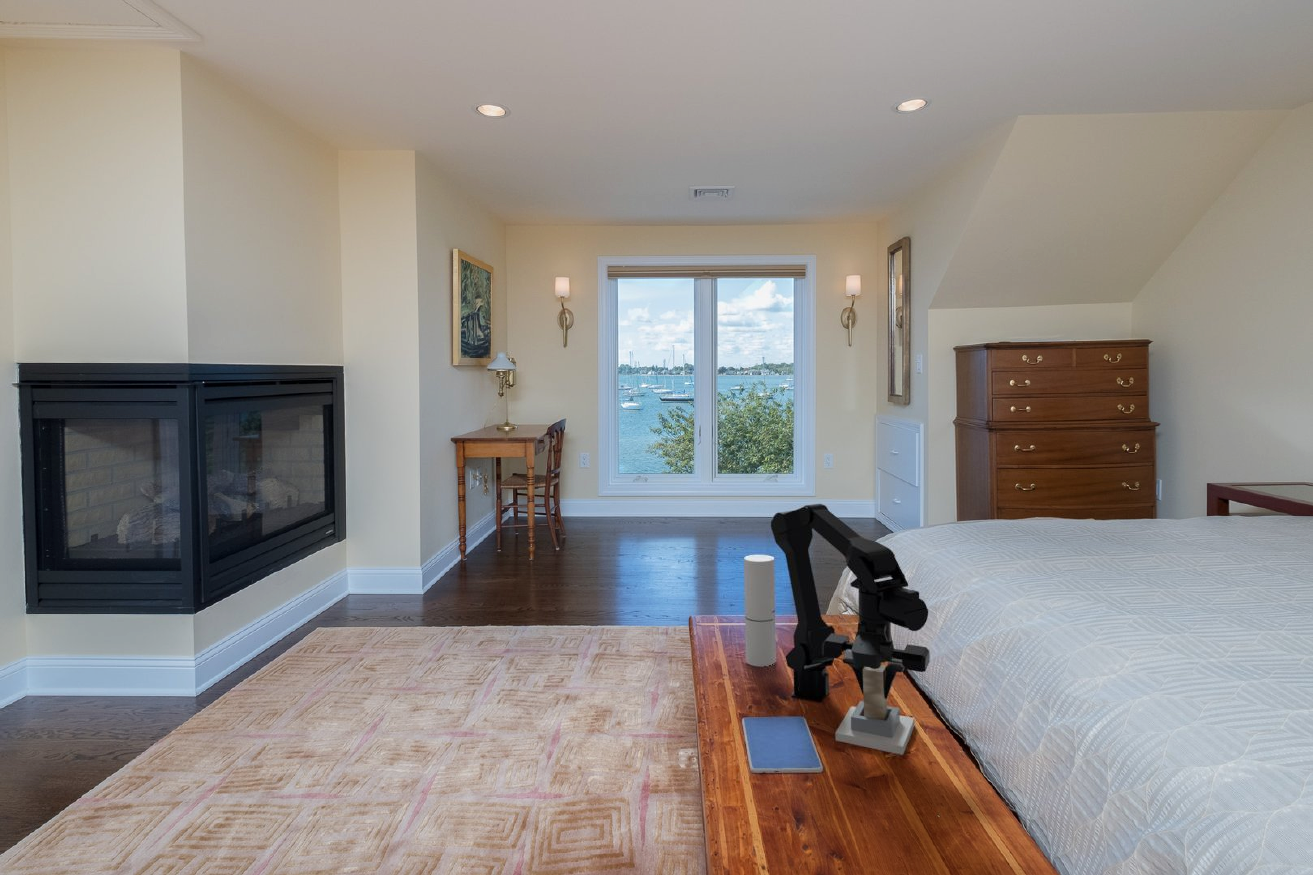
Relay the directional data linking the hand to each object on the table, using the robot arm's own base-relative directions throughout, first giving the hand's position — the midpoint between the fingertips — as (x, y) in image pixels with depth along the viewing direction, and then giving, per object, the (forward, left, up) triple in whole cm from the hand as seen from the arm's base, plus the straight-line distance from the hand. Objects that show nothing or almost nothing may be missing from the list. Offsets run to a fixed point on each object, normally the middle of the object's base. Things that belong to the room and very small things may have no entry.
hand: (875, 695), depth 134 cm
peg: (0, 0, -4) cm, 4 cm away
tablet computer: (-15, -12, -8) cm, 21 cm away
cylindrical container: (-32, +24, -7) cm, 40 cm away
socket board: (0, 0, -7) cm, 7 cm away
